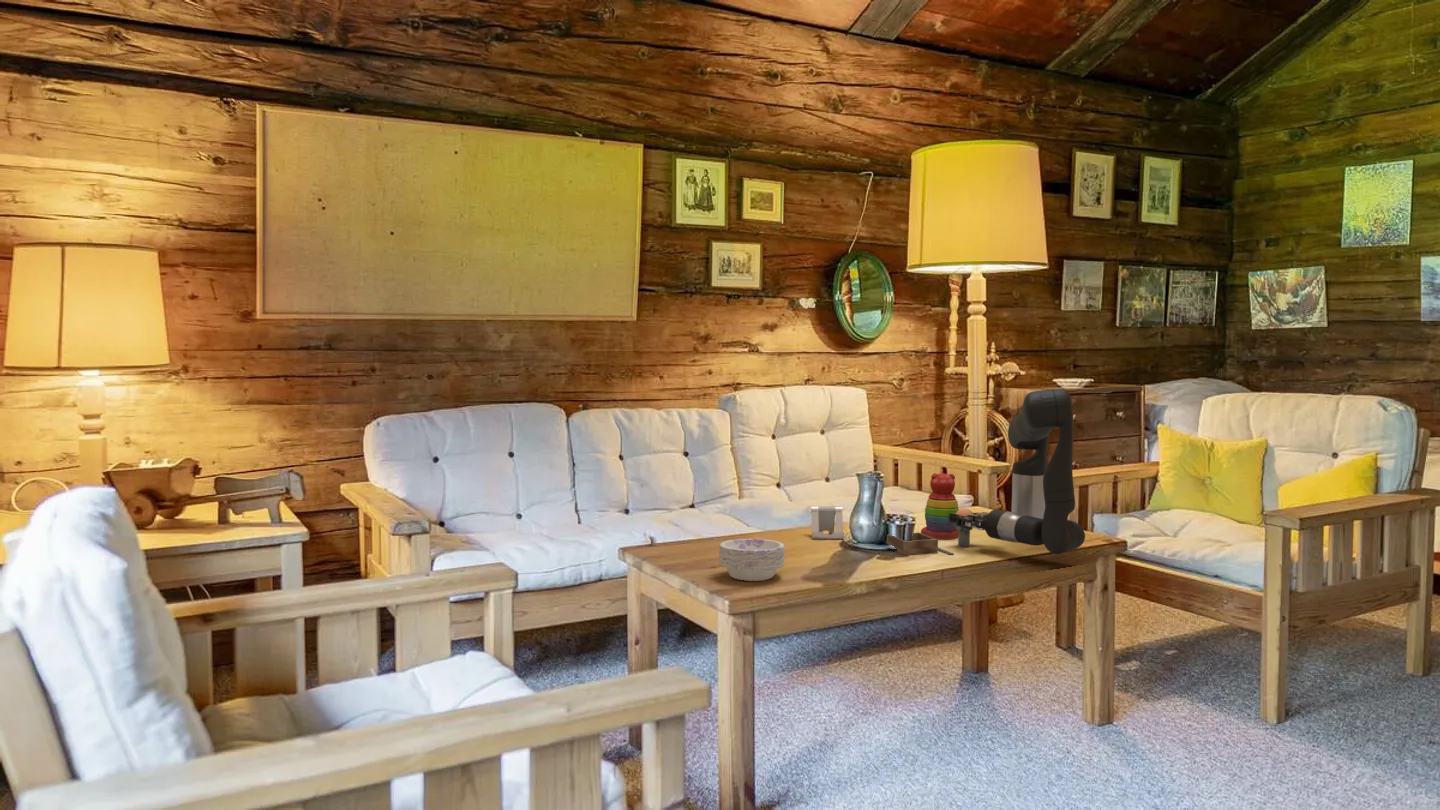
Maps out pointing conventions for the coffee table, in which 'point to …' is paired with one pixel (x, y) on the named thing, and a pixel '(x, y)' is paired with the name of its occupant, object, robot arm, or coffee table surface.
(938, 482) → the stacking bear
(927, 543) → the shallow wooden crate
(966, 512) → the ball
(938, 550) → the finish line
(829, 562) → the coffee table surface
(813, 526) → the portable electronic device stand
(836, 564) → the coffee table surface
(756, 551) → the paper bowls
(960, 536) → the tee
